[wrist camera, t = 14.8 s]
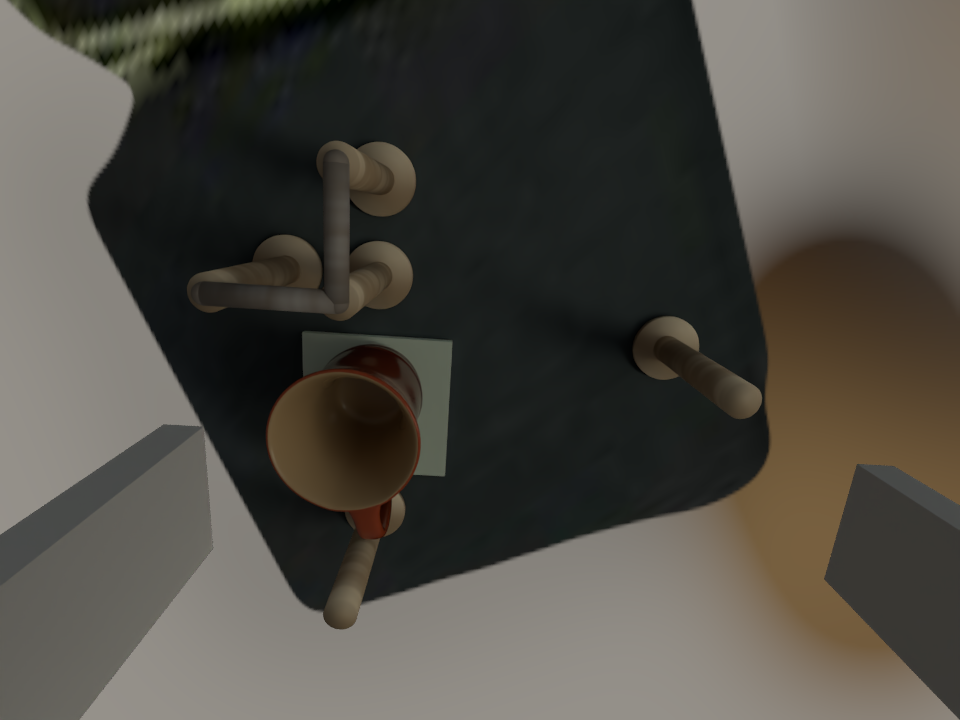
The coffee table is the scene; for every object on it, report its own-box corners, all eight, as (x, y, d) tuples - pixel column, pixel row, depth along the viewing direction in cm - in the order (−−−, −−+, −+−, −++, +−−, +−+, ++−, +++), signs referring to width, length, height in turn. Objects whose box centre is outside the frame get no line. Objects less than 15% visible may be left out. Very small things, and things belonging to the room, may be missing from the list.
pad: (304, 330, 39) (302, 332, 38) (452, 340, 39) (452, 341, 39) (307, 465, 42) (305, 468, 41) (445, 472, 42) (444, 476, 41)
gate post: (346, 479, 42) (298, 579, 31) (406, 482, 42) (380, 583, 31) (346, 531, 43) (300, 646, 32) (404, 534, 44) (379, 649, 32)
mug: (305, 338, 38) (247, 381, 28) (423, 321, 38) (405, 359, 28) (340, 483, 42) (298, 567, 32) (448, 469, 41) (440, 549, 31)
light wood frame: (249, 133, 35) (126, 88, 23) (417, 145, 35) (386, 107, 23) (257, 299, 38) (152, 340, 26) (411, 309, 38) (382, 354, 26)
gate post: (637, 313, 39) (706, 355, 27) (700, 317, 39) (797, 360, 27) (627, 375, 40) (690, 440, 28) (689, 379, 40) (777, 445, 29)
